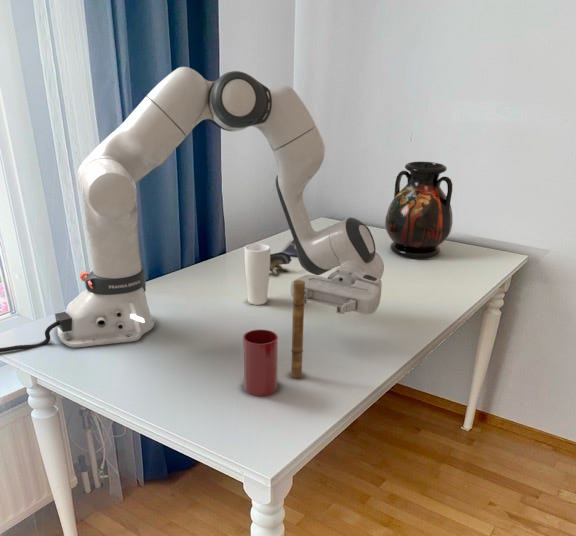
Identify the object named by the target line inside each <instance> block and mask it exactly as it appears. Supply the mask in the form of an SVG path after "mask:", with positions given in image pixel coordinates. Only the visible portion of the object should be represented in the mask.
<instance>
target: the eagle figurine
mask: <svg viewBox="0 0 576 536" xmlns="http://www.w3.org/2000/svg"><path fill="white" fill-rule="evenodd" d="M292 261H293V259H292V257H291V255H288V254H286V253H283V251H282V252H274V253H270V271H271V272H272V273H273V274H274V275H275V276H277V269H278V270H282V271H284V272H287V271H288V269H287V268H284V267H283V266H282V265H289V264H290V263H291V262H292Z"/></svg>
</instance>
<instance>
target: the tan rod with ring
mask: <svg viewBox="0 0 576 536" xmlns="http://www.w3.org/2000/svg"><path fill="white" fill-rule="evenodd" d="M293 281H294V280H293ZM304 296H305V282H304V281H302V280H296V281H294V289H293V297H292V328H291V329H292V330H291V331H292V332H291V333H292V334H291V337H292V338H291V349H290V350H291V351H290V352H291V364H290V365H291V367H290V368H291V369H290V377H291V378H293V379H301V378H302V375H303V352H304V348H303V347H304V346H303V345H304V321H305V319H304V318H305V305H306V304H305V303H304Z"/></svg>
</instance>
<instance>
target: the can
mask: <svg viewBox="0 0 576 536" xmlns="http://www.w3.org/2000/svg"><path fill="white" fill-rule="evenodd" d="M242 344H243V345H242V348H243V349H242V350H243V351H242V353H243V354H242V355H243V389H244V391H245V392H246V393H247V394H249V395H252V396H256V397H265V396H269V395H272V394H274V393H275V392H276V391H277V389H278V363H279V362H278V359H279V357H278V355H279V354H278V353H279V352H278V347H279V336H278V334H277V333H276V332H275V331H272V330H268V329H252V330H249V331H246V332H245V333H244V334H243V336H242Z"/></svg>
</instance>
